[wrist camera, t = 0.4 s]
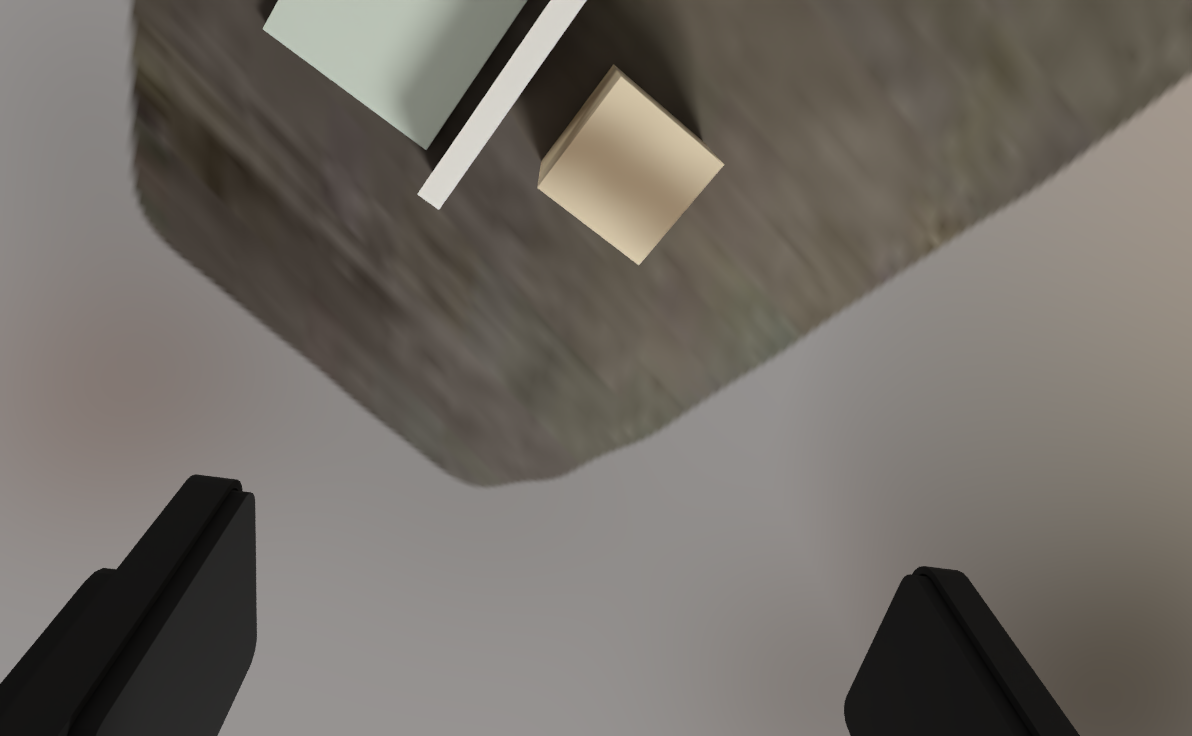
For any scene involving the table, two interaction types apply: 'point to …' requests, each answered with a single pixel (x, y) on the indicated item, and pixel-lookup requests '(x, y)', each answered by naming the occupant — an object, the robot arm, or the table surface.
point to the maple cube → (626, 166)
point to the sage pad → (397, 51)
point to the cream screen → (499, 99)
